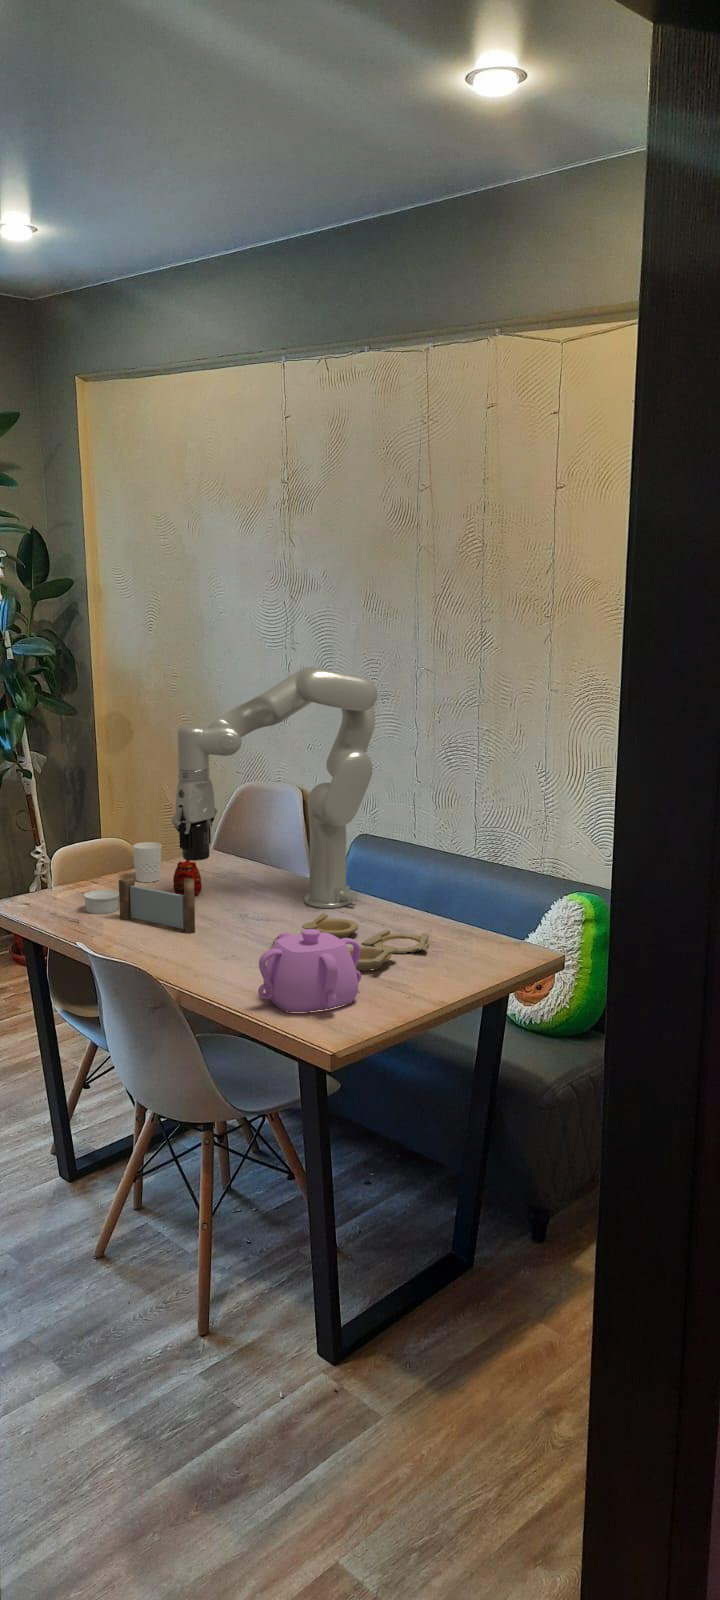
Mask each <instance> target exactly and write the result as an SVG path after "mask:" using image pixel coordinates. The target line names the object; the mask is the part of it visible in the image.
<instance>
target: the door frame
mask: <svg viewBox="0 0 720 1600" xmlns="http://www.w3.org/2000/svg"><path fill="white" fill-rule="evenodd" d="M133 885H134V886H136V885H135V878H132V877H125V878H121V879H119V880H118V893H119V898H118V905H119V919H120V920H122V921H126V922H127V921H129V922H133V923H137V924H142V925H146V926H149V927H150V926H151V927H155V928H160V929H163V930H164V929H165V930H168V931H174V932H179V933H183V932H184V933H185V934H194V933H196V915H195V914H196V910H195V909H196V907H195V906H196V905H195V902H196V901H195V900H196V899H195V896H194V879H193V878H186V879H184V908H185V929H181V928H176V927H171V926H167V925H162V924H158V923H153V922H148V921H144V920H139V919H134V918H131V907H130V886H133Z"/></svg>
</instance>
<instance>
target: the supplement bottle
mask: <svg viewBox="0 0 720 1600" xmlns="http://www.w3.org/2000/svg"><path fill="white" fill-rule="evenodd" d="M184 827H186V824H184ZM189 833H190V834H191V849H189V850H188V849H182V848H181V852H182V853H181V854H182V858H183V859H184V860H185V861H186V860H189V861H190V862H196V861H202V860H207V859H208V858H209V857H210V854H211V853H210V844H209V826H208V823H207V822H206V821H201V822H197V823H191V827H190V830H189Z"/></svg>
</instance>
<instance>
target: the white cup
mask: <svg viewBox="0 0 720 1600" xmlns="http://www.w3.org/2000/svg"><path fill="white" fill-rule="evenodd" d="M132 851H133V852H132V853H133V854H132V855H133V865H134V866H133V867H134V871H135V873H134V875H135V880H137V881H136V882H138V881H140V882H139V883H144V882H149V883H153V882H152V881H156V880H159V879H160V880H161V869H162V867H161V866H162V844H161V843H159V842H155V841H154V842H153V841H151V842H150V841H149V842H147V841H146V842H139V843H135V844H133V845H132ZM160 880H159V881H160ZM156 882H157V881H156Z"/></svg>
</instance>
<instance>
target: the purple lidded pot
mask: <svg viewBox="0 0 720 1600" xmlns="http://www.w3.org/2000/svg"><path fill="white" fill-rule="evenodd" d="M276 938H277V940H276V941H275V943H274V944H272V946H273V947H272V946H271V947H272V949H270V950H269V949H267V950H266V951H264V952H263V953H262V954H261V956H260V957H259V961H258V967H259V972H260V974H261V978H262V979H263V984H261V985H260V986H259V987H258V991H257V993H258V996H259V998H261V999H262V1000H270V1001H271V1002H272V1004H273V1005H275V1004H276V1005H277V1006H276V1005H275V1006H276V1007H278V1008H279V1007H280V1008H281V1009H280V1010H282V1009H283V1010H282V1011H284V1010H285V1011H288V1012H310V1011H317V1010H325V1009H330V1008H334V1007H338V1006H342V1005H345V1004H348V1003H350V1002H352V1001H354V1000H355V998H356V996H357V994H358V992H359V983H360V982H361V981H362V980H361V979H362V973H361V972H360V970H356V966H357V964H358V961H359V958H360V953H361V949H360V946H361V945H360V944H359V942H358V941H356V940H355V939H353V938H349V937H348V938H342V939H339V938H337V937H336V936H334V935H332V934H329V933H323V932H320V931H319V930H316V929H303V930H301V934H300V933H299V934H293V935H291V933H290V932H283V933H280V934H278V935H277V936H276ZM348 945H352V947H354V951H353V956H352V957H351V954H350V951H349V949H348V948H349V947H348ZM264 991H265V992H264ZM352 1003H353V1002H352ZM285 1011H284V1012H285ZM288 1012H287V1013H288Z"/></svg>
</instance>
